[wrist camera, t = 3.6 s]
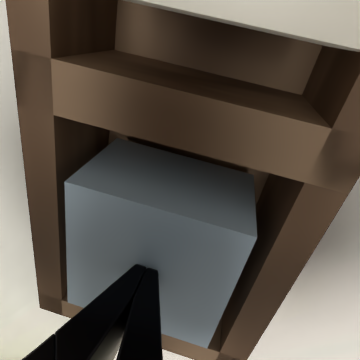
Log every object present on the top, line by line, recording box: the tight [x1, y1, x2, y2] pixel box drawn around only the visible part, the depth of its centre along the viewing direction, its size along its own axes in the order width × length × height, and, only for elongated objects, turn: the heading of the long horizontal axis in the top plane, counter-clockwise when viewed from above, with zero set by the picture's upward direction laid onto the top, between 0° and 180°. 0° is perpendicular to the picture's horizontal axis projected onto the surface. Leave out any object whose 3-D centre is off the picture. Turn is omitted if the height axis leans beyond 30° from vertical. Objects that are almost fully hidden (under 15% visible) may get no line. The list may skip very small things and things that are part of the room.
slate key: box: [64, 138, 257, 348], centre depth 11 cm, size 6×6×4 cm
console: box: [6, 0, 360, 360], centre depth 10 cm, size 10×22×5 cm, turn 169°
